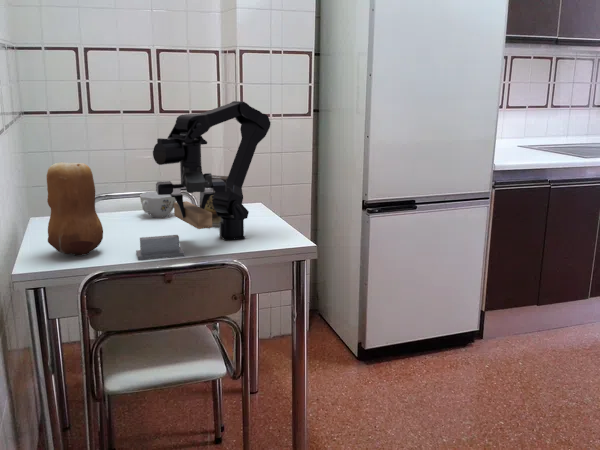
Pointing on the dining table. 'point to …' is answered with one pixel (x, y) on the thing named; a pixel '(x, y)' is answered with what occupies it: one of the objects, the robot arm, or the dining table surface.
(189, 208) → the batten
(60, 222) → the butternut squash
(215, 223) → the coffee box
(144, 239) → the ridge
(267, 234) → the dining table surface
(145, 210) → the teacup
